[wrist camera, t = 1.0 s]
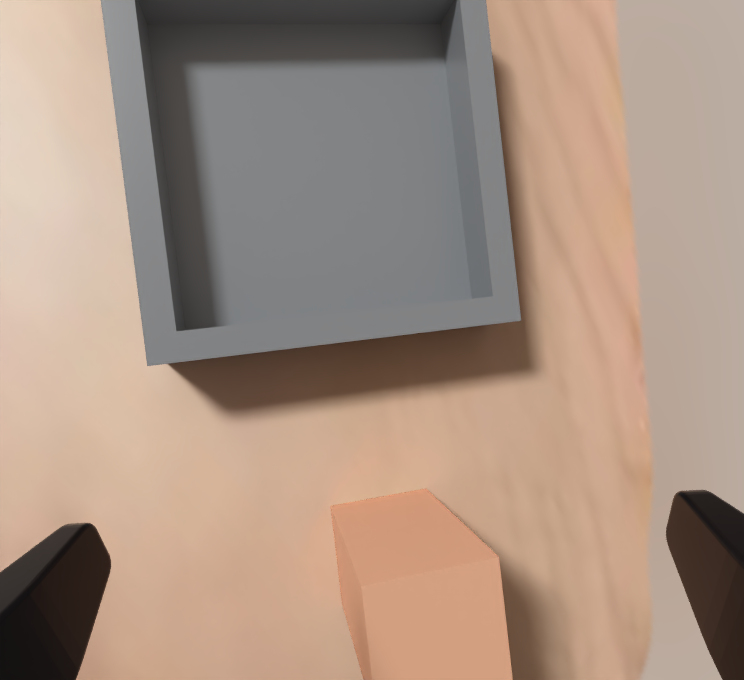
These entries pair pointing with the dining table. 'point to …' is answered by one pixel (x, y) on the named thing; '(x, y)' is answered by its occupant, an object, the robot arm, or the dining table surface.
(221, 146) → the tray
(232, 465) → the dining table surface
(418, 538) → the block
